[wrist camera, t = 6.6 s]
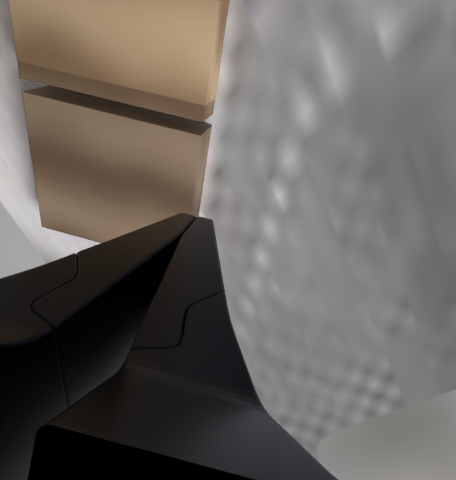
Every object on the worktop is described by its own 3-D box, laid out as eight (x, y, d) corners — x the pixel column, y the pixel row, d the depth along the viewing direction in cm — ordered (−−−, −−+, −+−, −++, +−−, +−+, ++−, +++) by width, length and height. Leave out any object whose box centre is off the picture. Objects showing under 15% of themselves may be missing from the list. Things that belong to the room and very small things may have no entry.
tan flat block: (193, 247, 24) (183, 266, 23) (61, 211, 25) (41, 226, 23) (211, 125, 20) (200, 135, 18) (48, 85, 20) (21, 91, 19)
